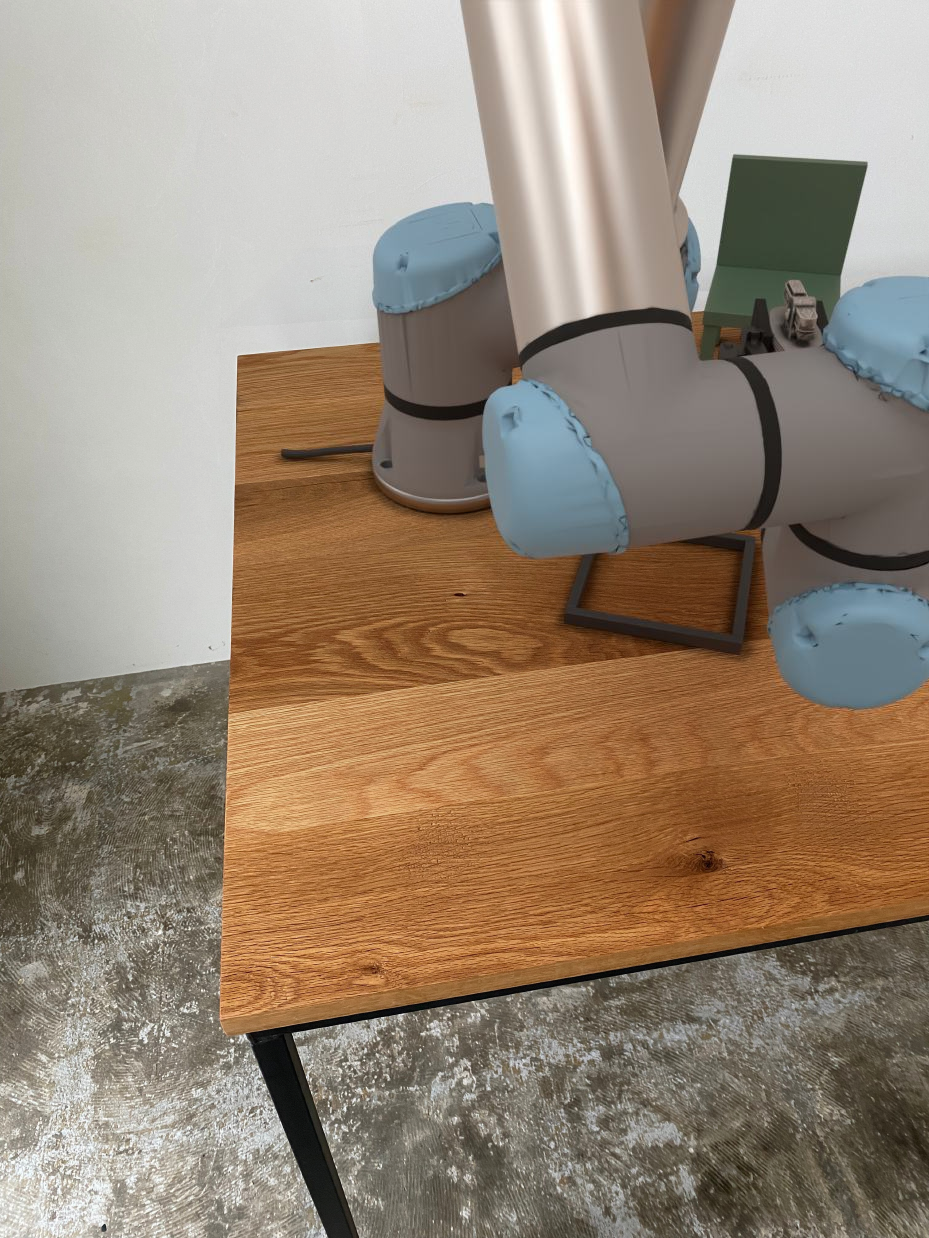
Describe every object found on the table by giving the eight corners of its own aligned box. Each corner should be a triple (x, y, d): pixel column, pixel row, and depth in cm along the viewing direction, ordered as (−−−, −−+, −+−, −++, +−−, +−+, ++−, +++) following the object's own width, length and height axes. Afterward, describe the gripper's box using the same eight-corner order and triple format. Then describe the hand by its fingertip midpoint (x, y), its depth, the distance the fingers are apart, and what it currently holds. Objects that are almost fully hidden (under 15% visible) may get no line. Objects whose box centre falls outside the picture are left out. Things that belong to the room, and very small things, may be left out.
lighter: (809, 449, 69) (841, 320, 63) (762, 448, 70) (789, 321, 63) (788, 395, 75) (815, 272, 69) (745, 395, 76) (768, 273, 69)
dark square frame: (563, 623, 74) (564, 612, 73) (596, 523, 83) (597, 512, 83) (740, 655, 71) (742, 643, 70) (753, 547, 80) (756, 536, 79)
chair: (692, 391, 100) (720, 196, 87) (705, 337, 109) (733, 154, 96) (818, 406, 97) (869, 206, 83) (822, 349, 106) (867, 161, 93)
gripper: (671, 528, 59) (671, 356, 76) (948, 547, 57) (884, 365, 74) (686, 424, 54) (682, 265, 71) (991, 440, 52) (911, 272, 69)
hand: (785, 316), depth 72 cm, fingers closed on lighter, 3 cm apart
